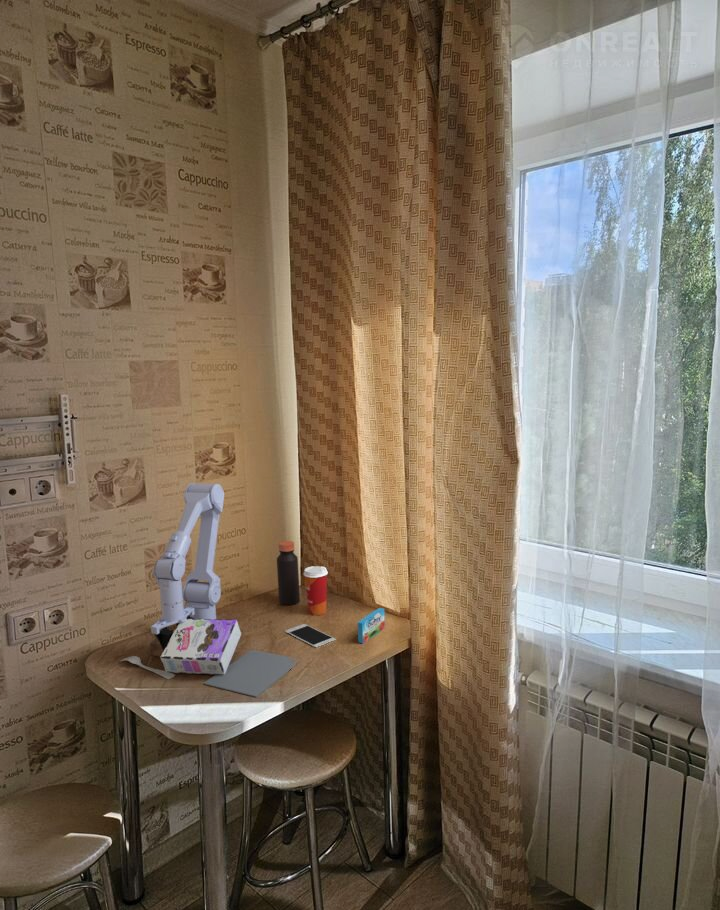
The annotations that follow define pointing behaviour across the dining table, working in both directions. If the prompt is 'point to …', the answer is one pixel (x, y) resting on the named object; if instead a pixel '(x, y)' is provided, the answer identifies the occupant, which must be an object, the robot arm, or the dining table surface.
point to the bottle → (288, 574)
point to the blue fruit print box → (371, 625)
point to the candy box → (201, 646)
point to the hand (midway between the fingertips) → (176, 648)
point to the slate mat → (252, 673)
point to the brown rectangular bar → (156, 648)
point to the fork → (138, 661)
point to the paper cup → (316, 589)
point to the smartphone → (310, 635)
